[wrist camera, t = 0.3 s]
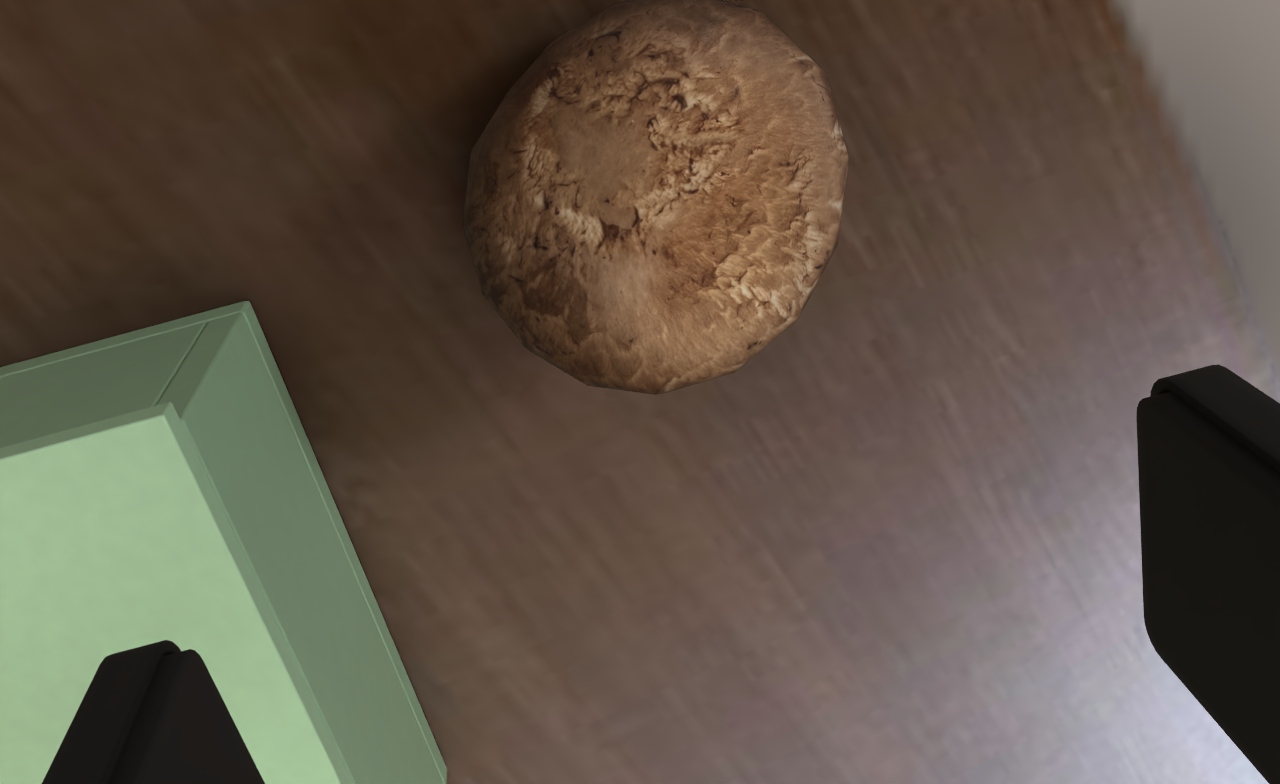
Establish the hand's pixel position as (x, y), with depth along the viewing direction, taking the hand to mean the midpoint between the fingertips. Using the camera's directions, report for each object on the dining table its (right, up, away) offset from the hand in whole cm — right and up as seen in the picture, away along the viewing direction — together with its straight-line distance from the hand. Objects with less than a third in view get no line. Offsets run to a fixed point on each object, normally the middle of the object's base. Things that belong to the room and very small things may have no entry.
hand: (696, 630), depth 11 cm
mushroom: (-1, +8, +15) cm, 16 cm away
